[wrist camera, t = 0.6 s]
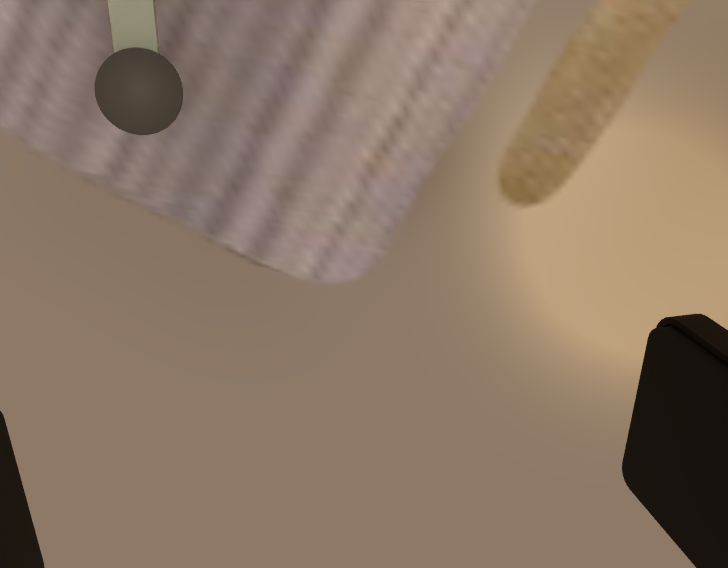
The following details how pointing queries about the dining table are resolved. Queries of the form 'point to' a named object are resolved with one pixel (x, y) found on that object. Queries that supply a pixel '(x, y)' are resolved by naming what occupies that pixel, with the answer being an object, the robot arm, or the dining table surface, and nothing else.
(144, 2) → the lever
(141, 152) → the dining table surface
